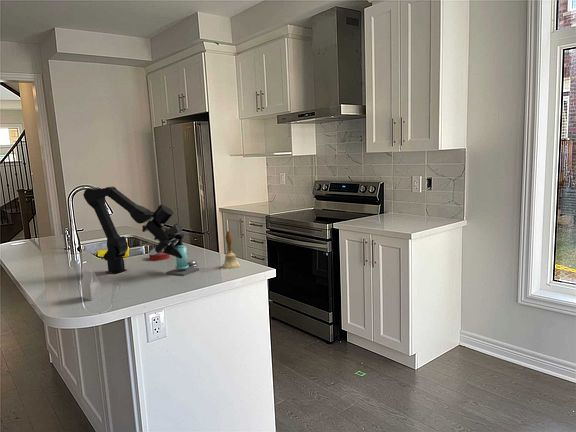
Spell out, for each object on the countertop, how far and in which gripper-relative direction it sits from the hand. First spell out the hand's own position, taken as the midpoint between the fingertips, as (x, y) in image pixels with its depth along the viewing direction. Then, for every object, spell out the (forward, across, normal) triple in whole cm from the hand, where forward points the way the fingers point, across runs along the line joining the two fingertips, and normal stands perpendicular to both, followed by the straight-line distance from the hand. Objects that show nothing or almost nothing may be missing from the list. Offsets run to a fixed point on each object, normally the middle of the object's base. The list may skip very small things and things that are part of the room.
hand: (184, 256), depth 192 cm
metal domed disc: (+3, +11, +7) cm, 13 cm away
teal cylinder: (+3, 0, +4) cm, 5 cm away
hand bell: (+17, +10, -7) cm, 21 cm away
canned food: (-13, +26, +24) cm, 38 cm away
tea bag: (-9, -36, +19) cm, 42 cm away
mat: (+4, 0, +6) cm, 7 cm away
